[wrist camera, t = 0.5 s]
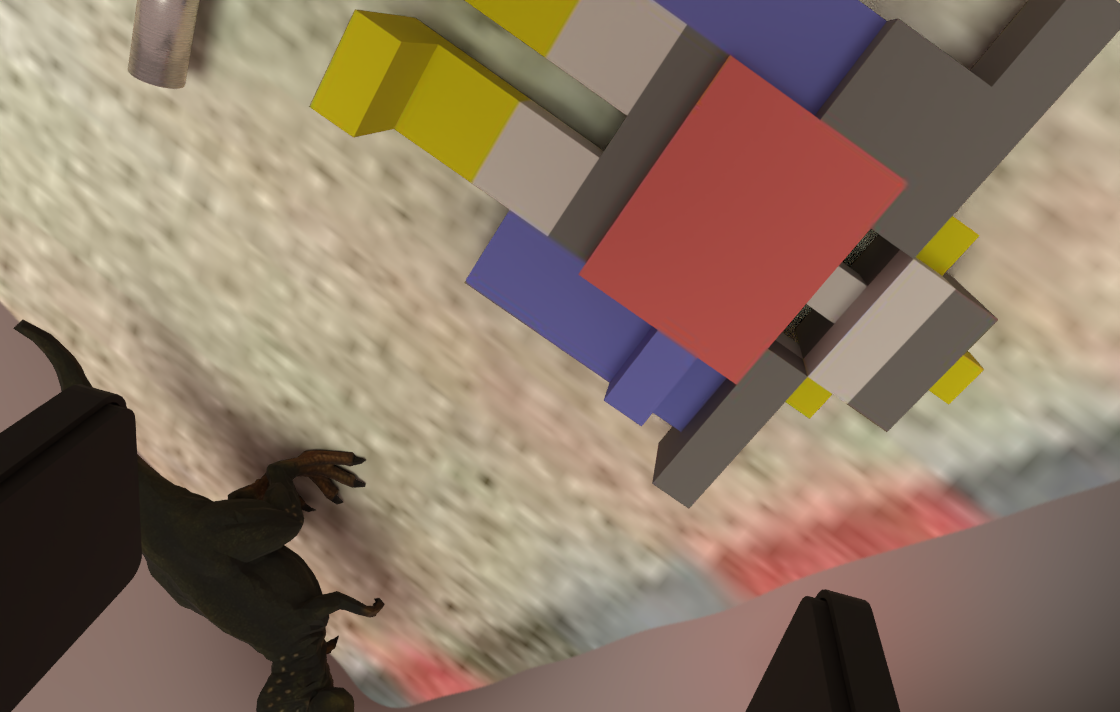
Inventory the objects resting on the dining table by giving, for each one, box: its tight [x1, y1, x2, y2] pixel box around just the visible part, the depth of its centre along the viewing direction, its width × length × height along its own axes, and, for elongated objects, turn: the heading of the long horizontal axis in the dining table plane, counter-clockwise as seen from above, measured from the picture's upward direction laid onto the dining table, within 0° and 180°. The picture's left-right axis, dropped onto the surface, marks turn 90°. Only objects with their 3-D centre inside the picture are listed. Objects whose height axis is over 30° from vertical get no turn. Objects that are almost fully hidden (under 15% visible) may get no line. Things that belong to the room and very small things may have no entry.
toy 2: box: [309, 0, 1120, 508], centre depth 34 cm, size 26×9×30 cm
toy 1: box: [14, 320, 385, 712], centre depth 42 cm, size 9×28×15 cm, turn 34°
